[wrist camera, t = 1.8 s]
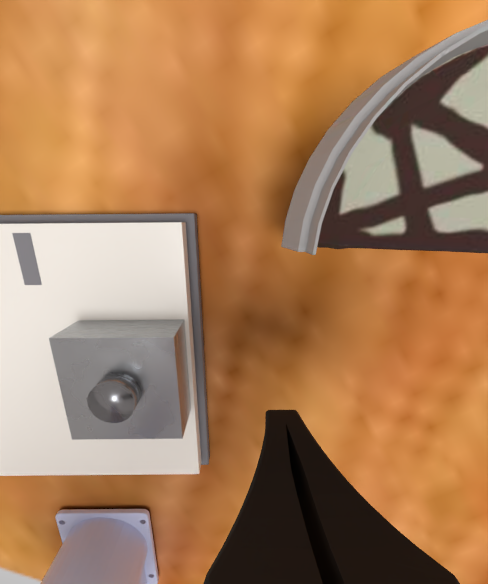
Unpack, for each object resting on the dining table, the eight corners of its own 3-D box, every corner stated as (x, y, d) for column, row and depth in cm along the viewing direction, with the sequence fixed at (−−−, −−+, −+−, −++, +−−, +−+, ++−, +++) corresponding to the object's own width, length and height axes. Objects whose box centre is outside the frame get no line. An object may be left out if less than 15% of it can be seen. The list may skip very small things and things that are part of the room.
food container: (481, 134, 15) (916, -25, 5) (454, 241, 17) (748, 270, 7) (269, 125, 15) (319, -55, 5) (263, 234, 16) (292, 254, 7)
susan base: (209, 455, 21) (208, 464, 20) (-22, 457, 21) (-32, 466, 20) (196, 213, 16) (194, 213, 15) (-109, 216, 16) (-126, 216, 15)
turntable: (201, 461, 20) (192, 510, 17) (-69, 464, 20) (-132, 513, 17) (185, 222, 15) (169, 222, 12) (-170, 225, 15) (-288, 226, 12)
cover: (191, 408, 17) (178, 453, 14) (95, 409, 17) (60, 454, 14) (184, 319, 16) (168, 346, 12) (78, 320, 16) (33, 347, 12)
